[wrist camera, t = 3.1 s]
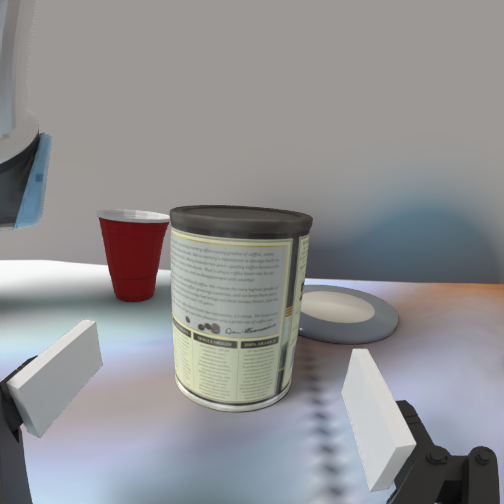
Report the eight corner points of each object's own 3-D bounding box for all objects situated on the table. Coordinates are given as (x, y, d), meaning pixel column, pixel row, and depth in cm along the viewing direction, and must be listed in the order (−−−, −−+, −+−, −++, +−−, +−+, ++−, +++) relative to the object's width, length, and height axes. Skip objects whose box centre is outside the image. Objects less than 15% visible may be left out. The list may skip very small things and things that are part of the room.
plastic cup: (175, 308, 38) (176, 215, 35) (94, 309, 34) (88, 215, 32) (169, 282, 48) (170, 207, 45) (104, 283, 44) (102, 207, 42)
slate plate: (268, 340, 32) (268, 331, 31) (269, 287, 49) (269, 280, 49) (417, 343, 31) (420, 335, 31) (373, 293, 48) (374, 287, 48)
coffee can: (171, 348, 28) (170, 203, 25) (270, 343, 31) (283, 207, 28) (176, 418, 19) (169, 216, 16) (310, 403, 21) (340, 222, 18)
